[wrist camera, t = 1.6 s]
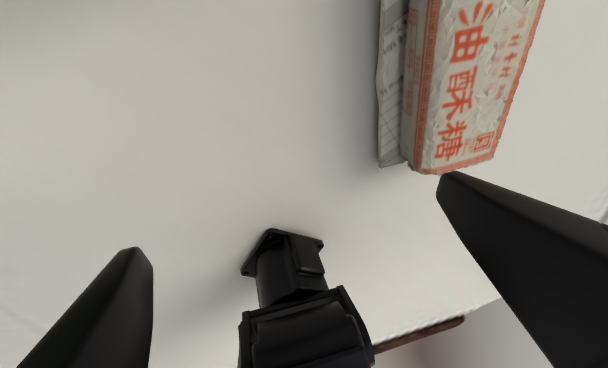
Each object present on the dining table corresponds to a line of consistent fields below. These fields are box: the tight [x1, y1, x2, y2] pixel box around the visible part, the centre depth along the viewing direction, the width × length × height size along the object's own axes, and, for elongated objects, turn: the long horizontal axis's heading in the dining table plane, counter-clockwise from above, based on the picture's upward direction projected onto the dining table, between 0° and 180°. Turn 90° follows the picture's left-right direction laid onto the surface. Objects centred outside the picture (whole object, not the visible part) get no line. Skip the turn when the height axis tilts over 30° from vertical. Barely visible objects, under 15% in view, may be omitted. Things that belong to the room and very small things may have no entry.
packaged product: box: [375, 0, 545, 176], centre depth 18 cm, size 18×5×10 cm
